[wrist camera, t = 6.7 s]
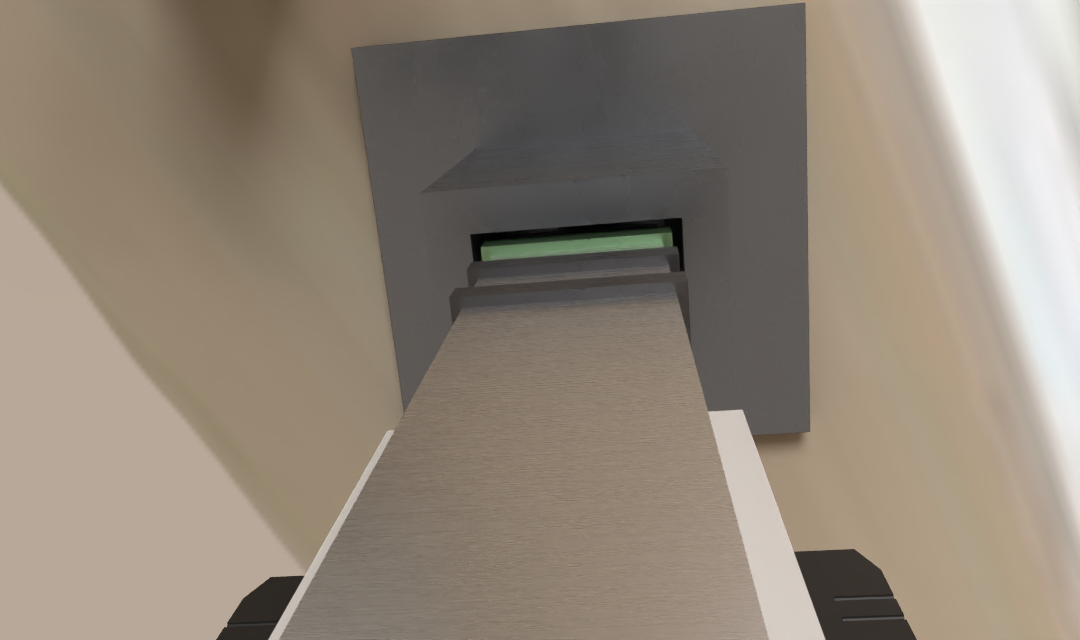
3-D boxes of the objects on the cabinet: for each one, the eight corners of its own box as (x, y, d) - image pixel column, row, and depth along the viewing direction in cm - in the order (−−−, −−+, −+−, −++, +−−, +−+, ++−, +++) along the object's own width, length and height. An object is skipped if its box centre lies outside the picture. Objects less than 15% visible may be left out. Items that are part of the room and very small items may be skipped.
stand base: (358, 47, 34) (233, 50, 23) (799, 4, 32) (901, -17, 21) (415, 444, 38) (334, 610, 27) (804, 421, 37) (890, 588, 26)
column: (492, 227, 27) (65, 910, 6) (665, 214, 26) (893, 903, 5) (510, 387, 28) (220, 1408, 7) (674, 377, 28) (883, 1440, 7)
